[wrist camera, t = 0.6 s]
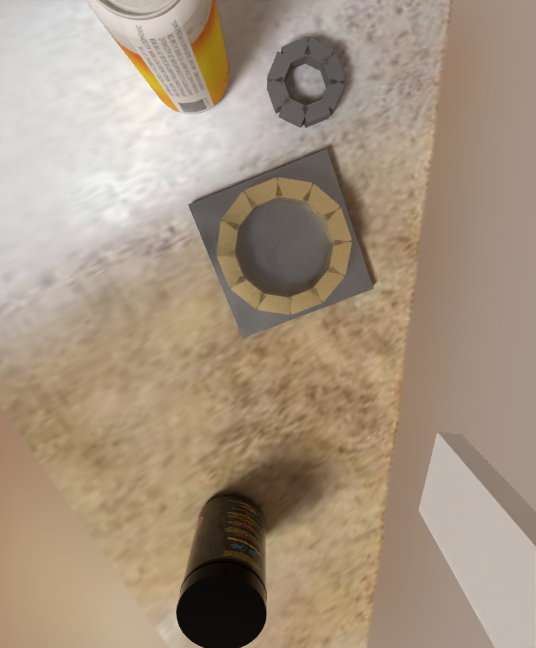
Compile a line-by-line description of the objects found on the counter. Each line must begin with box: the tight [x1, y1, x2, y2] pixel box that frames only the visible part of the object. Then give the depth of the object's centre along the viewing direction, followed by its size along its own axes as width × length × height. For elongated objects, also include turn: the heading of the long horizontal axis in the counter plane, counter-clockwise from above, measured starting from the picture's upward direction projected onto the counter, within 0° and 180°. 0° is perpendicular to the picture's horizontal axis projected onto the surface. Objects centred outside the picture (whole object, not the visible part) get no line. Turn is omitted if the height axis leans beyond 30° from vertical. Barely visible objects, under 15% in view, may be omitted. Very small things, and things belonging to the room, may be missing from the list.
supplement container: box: [176, 494, 267, 648], centre depth 36 cm, size 7×7×10 cm
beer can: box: [86, 0, 229, 114], centre depth 26 cm, size 6×6×15 cm
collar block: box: [188, 149, 374, 338], centre depth 35 cm, size 12×12×3 cm
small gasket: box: [267, 37, 345, 128], centre depth 33 cm, size 6×6×2 cm
